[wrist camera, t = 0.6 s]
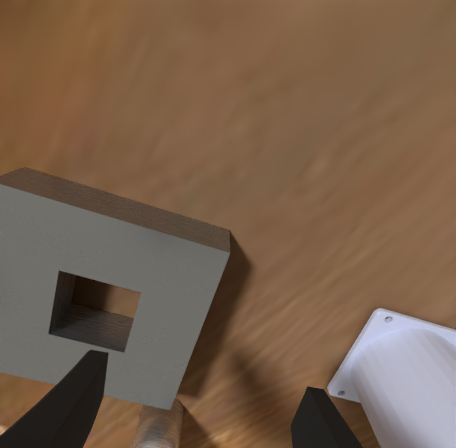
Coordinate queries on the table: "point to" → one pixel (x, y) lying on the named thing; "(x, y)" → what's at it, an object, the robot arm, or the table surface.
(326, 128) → the table surface
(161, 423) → the metal cylinder
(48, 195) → the square hole block
